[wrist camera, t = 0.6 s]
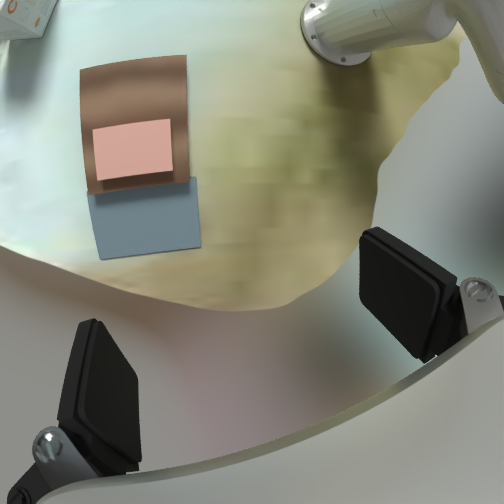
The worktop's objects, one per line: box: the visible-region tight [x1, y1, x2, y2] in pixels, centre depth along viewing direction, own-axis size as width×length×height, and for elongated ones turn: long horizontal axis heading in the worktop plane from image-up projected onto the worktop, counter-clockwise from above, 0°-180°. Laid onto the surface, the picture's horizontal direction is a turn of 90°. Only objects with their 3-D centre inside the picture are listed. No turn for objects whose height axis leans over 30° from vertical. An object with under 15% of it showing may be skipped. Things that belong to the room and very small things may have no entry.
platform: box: [80, 55, 190, 195], centre depth 31 cm, size 16×13×3 cm
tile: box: [93, 119, 173, 181], centre depth 30 cm, size 6×9×2 cm, turn 90°
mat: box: [87, 177, 201, 259], centre depth 38 cm, size 10×15×1 cm, turn 90°
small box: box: [0, 0, 57, 40], centre depth 14 cm, size 8×6×13 cm
